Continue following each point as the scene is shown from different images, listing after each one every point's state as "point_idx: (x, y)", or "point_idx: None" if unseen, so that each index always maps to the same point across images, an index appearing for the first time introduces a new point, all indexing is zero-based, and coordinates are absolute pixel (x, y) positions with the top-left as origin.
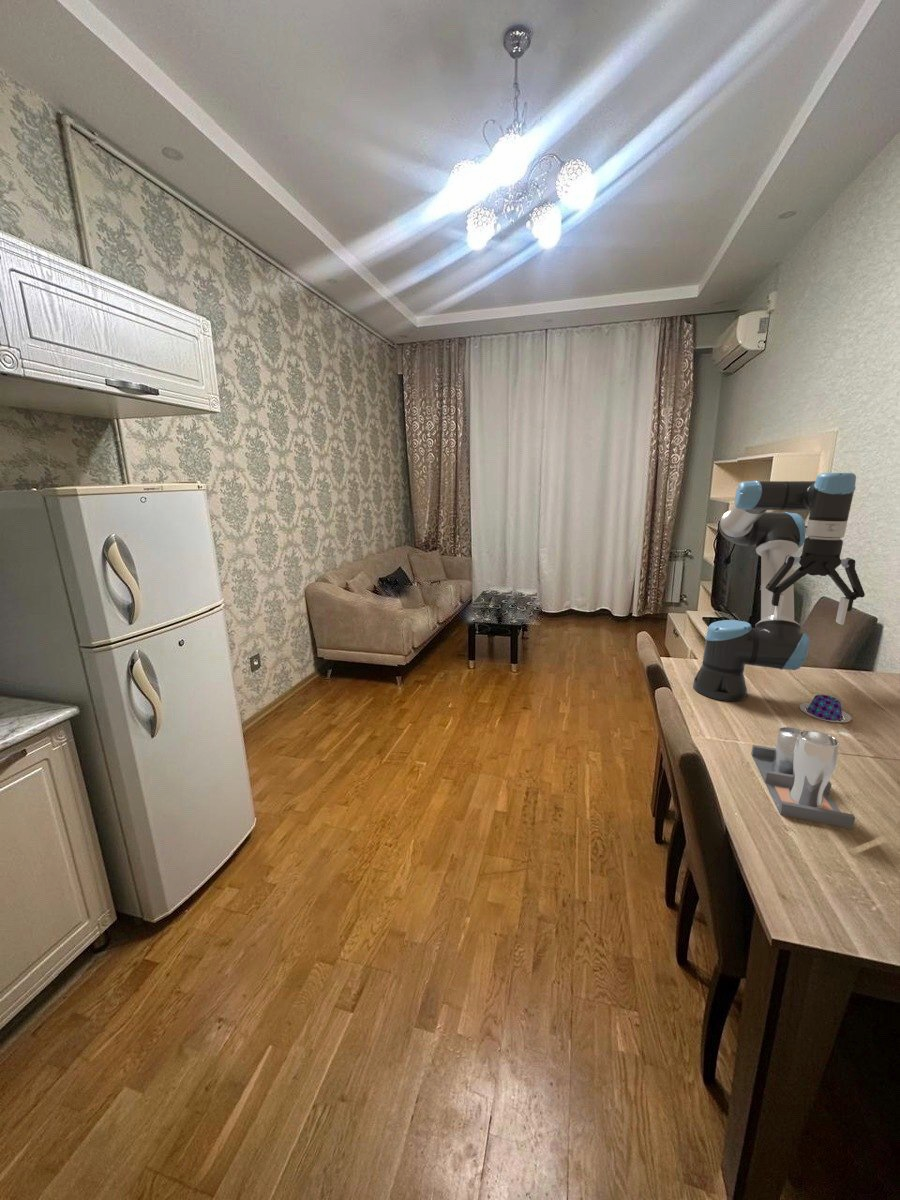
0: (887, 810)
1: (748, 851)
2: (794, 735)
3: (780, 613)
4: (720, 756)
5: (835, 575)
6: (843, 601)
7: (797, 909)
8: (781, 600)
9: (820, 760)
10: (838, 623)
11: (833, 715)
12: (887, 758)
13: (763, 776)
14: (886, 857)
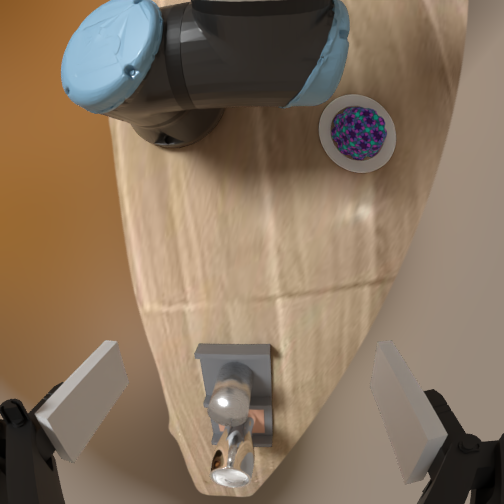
0: (324, 399)
1: (188, 461)
2: (225, 416)
3: (115, 398)
4: (163, 352)
5: None
6: (406, 458)
7: (212, 486)
8: (81, 440)
9: (232, 474)
10: (372, 372)
11: (367, 154)
12: (392, 278)
13: (206, 389)
14: (287, 450)
